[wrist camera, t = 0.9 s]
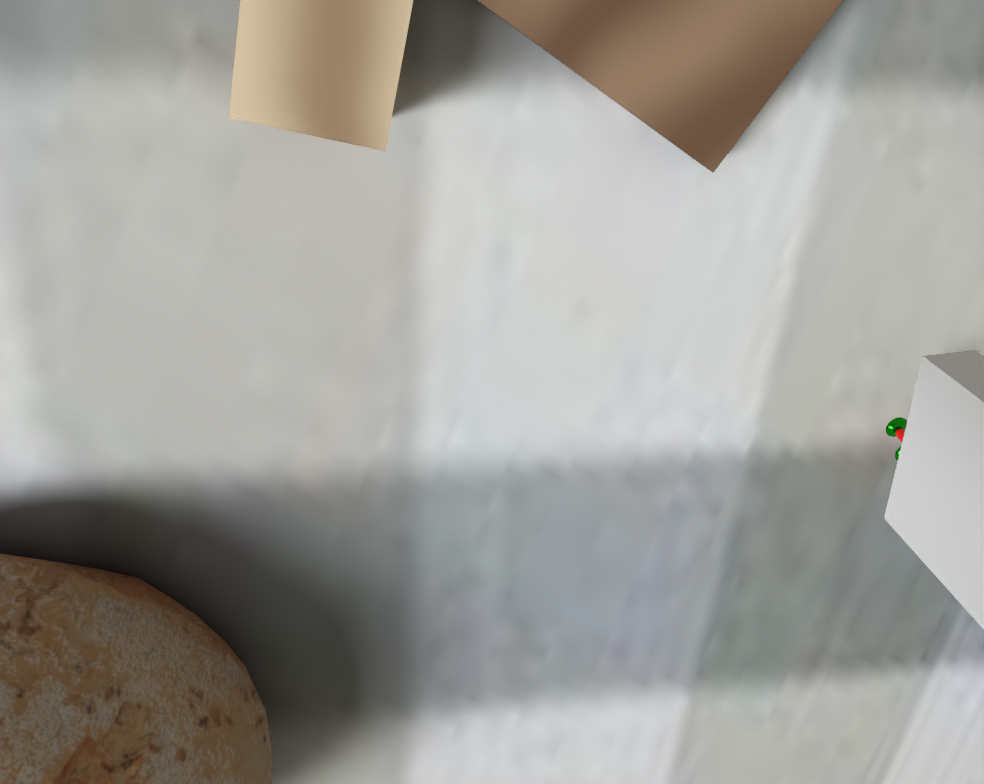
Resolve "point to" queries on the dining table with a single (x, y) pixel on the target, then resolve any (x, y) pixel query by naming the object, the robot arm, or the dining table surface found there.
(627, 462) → the dining table surface
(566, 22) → the board
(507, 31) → the dining table surface
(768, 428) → the dining table surface
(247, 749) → the bread
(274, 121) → the beech block
